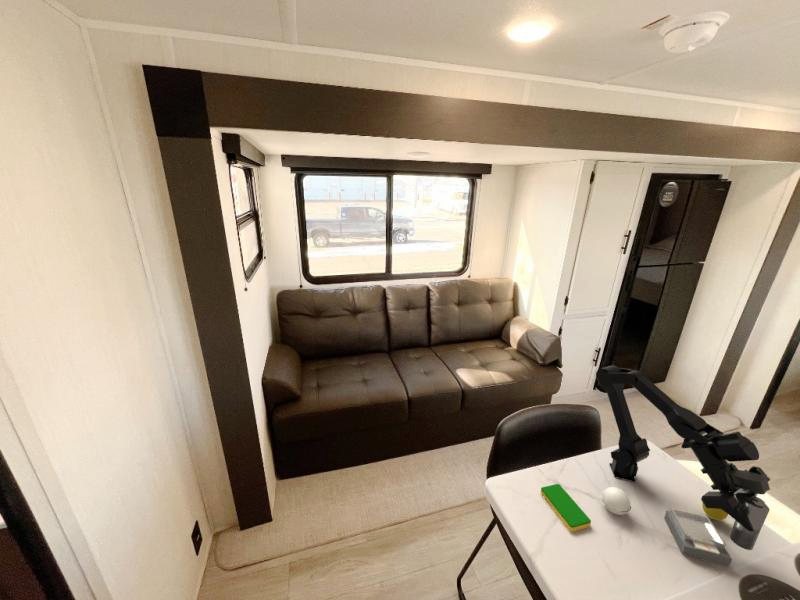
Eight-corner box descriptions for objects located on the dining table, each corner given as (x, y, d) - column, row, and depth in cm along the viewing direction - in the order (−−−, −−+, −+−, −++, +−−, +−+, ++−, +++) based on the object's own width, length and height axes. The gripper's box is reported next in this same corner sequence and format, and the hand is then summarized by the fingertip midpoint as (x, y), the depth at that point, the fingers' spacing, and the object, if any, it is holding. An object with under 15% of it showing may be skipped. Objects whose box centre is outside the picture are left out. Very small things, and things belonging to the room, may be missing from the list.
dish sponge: (557, 488, 106) (558, 483, 106) (590, 527, 94) (591, 521, 93) (539, 493, 105) (540, 487, 104) (570, 533, 92) (571, 526, 91)
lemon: (729, 528, 93) (737, 507, 91) (707, 524, 94) (714, 503, 92) (715, 511, 98) (722, 491, 96) (694, 508, 99) (701, 488, 97)
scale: (682, 554, 86) (686, 541, 85) (664, 518, 96) (667, 506, 95) (728, 567, 83) (733, 553, 81) (704, 528, 93) (709, 515, 92)
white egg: (613, 523, 94) (618, 504, 92) (594, 501, 101) (598, 483, 99) (641, 517, 96) (646, 498, 94) (620, 496, 103) (625, 478, 101)
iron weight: (735, 546, 83) (753, 505, 79) (725, 531, 87) (741, 490, 83) (757, 552, 82) (775, 510, 78) (745, 536, 86) (763, 495, 82)
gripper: (730, 472, 78) (780, 547, 71) (764, 449, 85) (812, 515, 79) (683, 474, 87) (724, 540, 80) (718, 453, 94) (757, 513, 88)
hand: (755, 527), depth 82 cm, fingers closed on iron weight, 4 cm apart
